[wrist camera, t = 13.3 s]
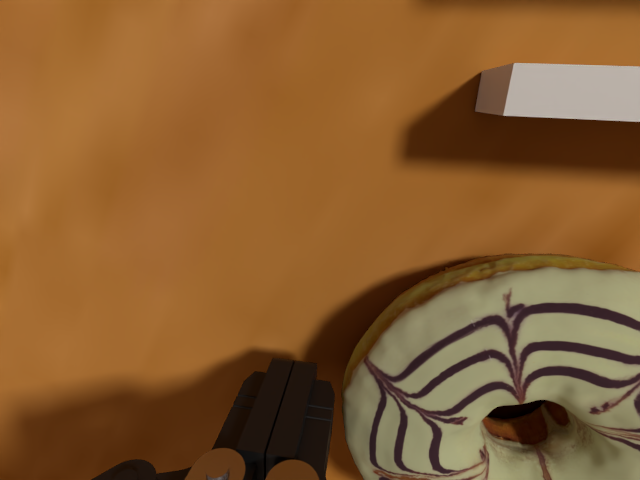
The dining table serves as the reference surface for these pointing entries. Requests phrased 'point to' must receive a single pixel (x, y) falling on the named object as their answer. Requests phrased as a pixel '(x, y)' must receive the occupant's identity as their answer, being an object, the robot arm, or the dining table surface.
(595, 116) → the white u-shaped bracket
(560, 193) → the dining table surface
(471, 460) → the decorated donut
